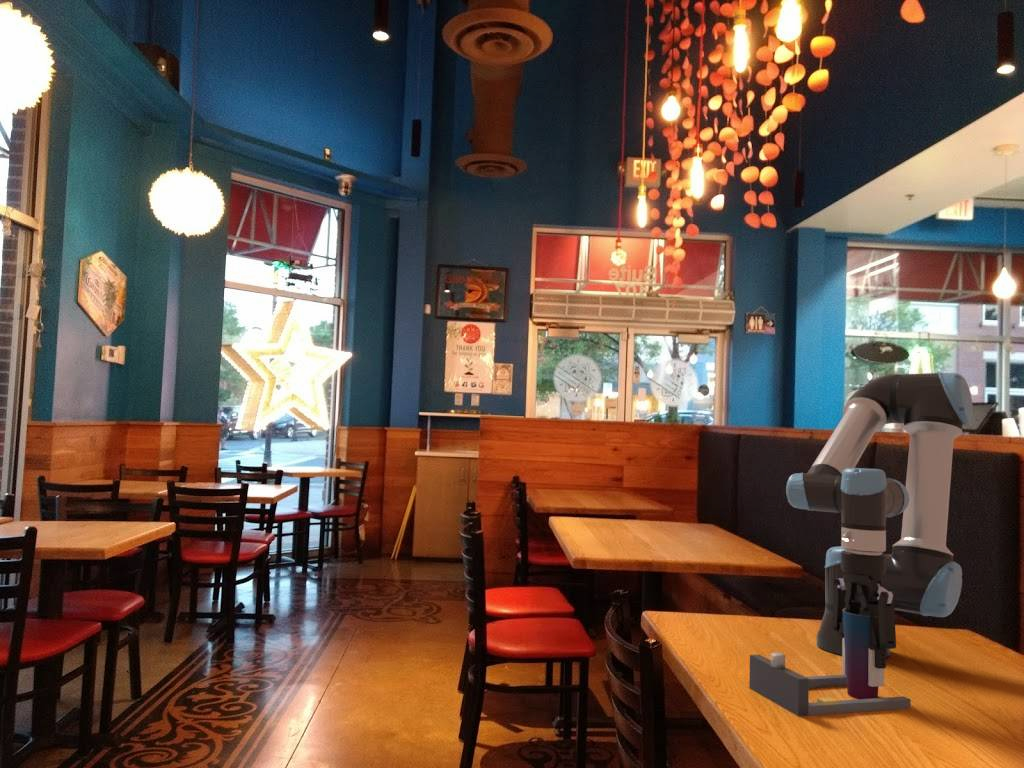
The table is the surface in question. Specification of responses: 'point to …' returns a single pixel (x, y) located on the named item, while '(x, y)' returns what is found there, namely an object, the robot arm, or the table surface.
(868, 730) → the table surface
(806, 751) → the table surface
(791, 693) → the grey u-shaped fork
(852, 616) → the cup
